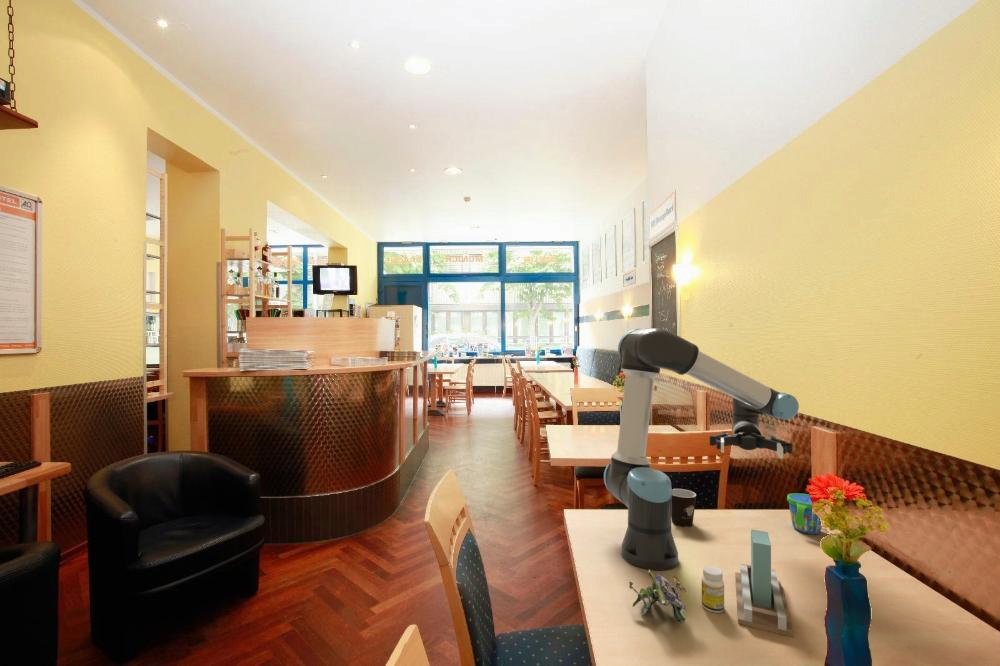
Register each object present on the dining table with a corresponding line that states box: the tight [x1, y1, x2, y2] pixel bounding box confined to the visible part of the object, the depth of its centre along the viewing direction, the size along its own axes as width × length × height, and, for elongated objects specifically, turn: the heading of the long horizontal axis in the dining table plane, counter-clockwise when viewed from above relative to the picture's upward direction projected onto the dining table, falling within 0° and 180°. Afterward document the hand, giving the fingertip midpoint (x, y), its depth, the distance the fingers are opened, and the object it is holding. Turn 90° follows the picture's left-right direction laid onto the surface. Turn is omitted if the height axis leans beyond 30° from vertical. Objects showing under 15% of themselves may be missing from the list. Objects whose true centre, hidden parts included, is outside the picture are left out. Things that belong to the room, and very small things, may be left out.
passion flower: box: [628, 569, 687, 624], centre depth 100 cm, size 11×11×12 cm
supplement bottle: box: [701, 565, 725, 614], centre depth 103 cm, size 5×5×8 cm
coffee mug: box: [671, 488, 697, 528], centre depth 151 cm, size 12×9×10 cm
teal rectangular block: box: [750, 529, 772, 609], centre depth 106 cm, size 8×4×14 cm, turn 154°
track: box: [735, 563, 794, 638], centre depth 105 cm, size 22×10×4 cm, turn 154°
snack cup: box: [786, 492, 823, 535], centre depth 146 cm, size 16×10×10 cm
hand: (751, 450), depth 119 cm, fingers open, 13 cm apart
